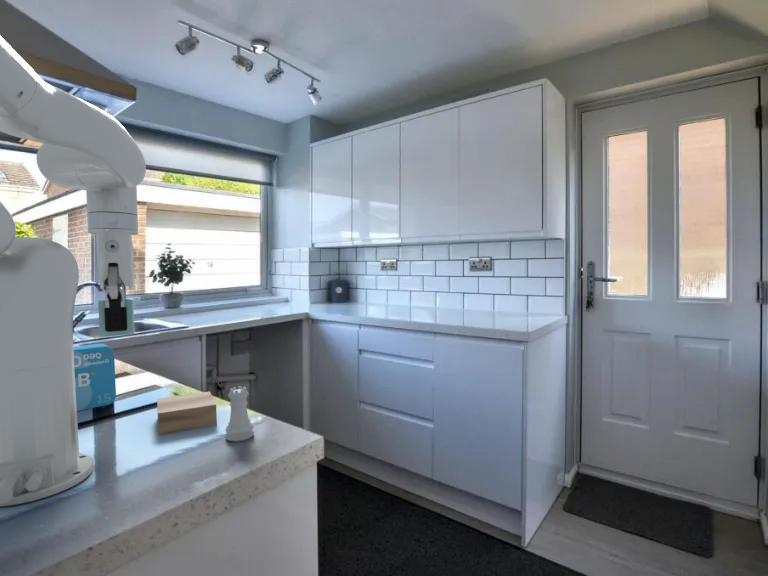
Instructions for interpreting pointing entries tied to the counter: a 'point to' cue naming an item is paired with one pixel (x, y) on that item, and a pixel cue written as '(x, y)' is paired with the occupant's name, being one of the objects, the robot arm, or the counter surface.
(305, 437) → the counter surface
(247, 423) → the rook chess piece
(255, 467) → the counter surface
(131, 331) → the teal block
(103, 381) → the blue flat box
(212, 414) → the walnut block
